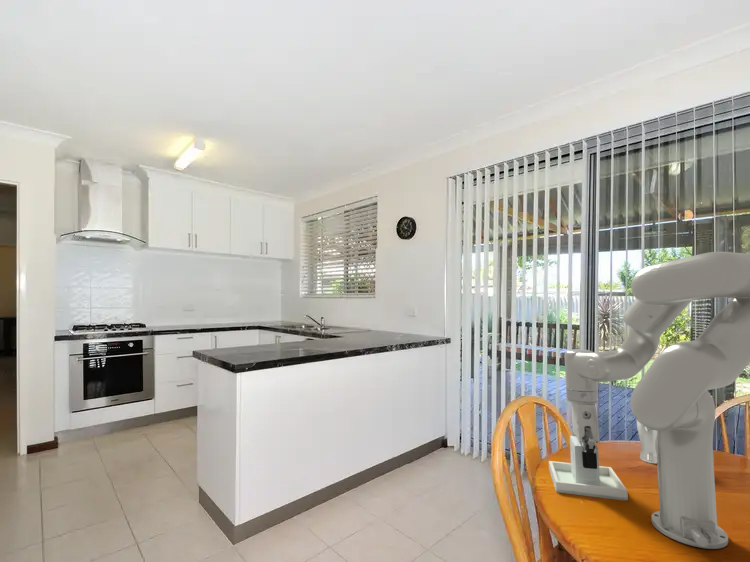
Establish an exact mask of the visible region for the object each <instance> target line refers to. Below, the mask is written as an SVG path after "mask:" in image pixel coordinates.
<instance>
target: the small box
mask: <svg viewBox="0 0 750 562" xmlns="http://www.w3.org/2000/svg"><path fill="white" fill-rule="evenodd" d="M586 444H588V443H585V446H586ZM594 444H595V448H596V455H597V469H590V468H584V467H583V460H582V451H583V446H582V442H580V441H579V440H578V439H577V437H576V436H575V435H569V448H570V463H571V473H572V475H573V478H574V480H575V483H580V484H589V485H598V486H600V477H599V466H600V459H599V447H598V445H597V443H596V442H595V441H594Z"/></svg>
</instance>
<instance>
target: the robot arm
mask: <svg viewBox="0 0 750 562" xmlns="http://www.w3.org/2000/svg"><path fill="white" fill-rule="evenodd" d="M630 285H631V286H630V288H631V292H632V295H633V297H635V300H634V301H633V302H632V303H631V304H630V306H628V308H627V309H626V311H625V312H624V313H623V317H622V321H623V322H624V323H625V325H626V326H627V328H629V329H630V330H629V334H628V335H627V337H626V339H624V341H623V342H622V343H621V345H620V346H619V347H618V348H617V349H616V350H605V351H604V350H603V351H592V350H589V349H581V348H580V349H579V348H578V349H576V348H575V349H567V350H565V352H564V372H565V389H566V401H567V402H569V403H570V405H571V407H570V408H571V423H572V424H571V425H572V432H573V433H574V436H576V437H577V439H578V440H579V441H580V442H582V446H583V451H582V460H583V467H584V468H590V469H597V455H596V448H595V444H599V443H600V441H601V440H600V439H601V438H600V430H599V420H598V414H597V407H596V405H597V404H599V394H598V383H608V382H614V381H620V380H621V381H622V380H628V379H631V378H633V377H635V376H636V375H638V374H639V373H640V372H641V371H642V370H643V369H644V368H645V367H646V366H647V364H648V363H649V362H650V361H651V360H652V359H653V357H654V356H655V354H656V353H657V350H658V347H659V343H660V338H661V336H662V335H663V334H664V332H665V331H666V330H668V328H669V327H670V325H671V324H672V323H673V322H674V321H675V320H676V319H677V317H679V315H680V314H681V313H683V311H684V310H685V309H686V308H687V306H689V304H690V303H691V302H693V301H697V300H705V299H716V298H730V300H729V302H728V303H727V304H726V305H725V306H724V307H723V308H722V309H721V310H720V311H718V312H717V314H716V315H715V316H714V317H713V318H712V319H711V321H710V322H709V324H708V325H707V326H706V328H705V329H704V330H703V332H702V333H701V334H700V335H699V336H698V337H697V338H695V339H694V340H691V341H690V340H689V341H681V342H677V343H674V344H672V345H669V346H668V347H666V348H665V349H664V350H662V351H661V352H660V353H659V354H658V355H657V356H656V357H655V359H654V360H653V362H652V363H651V364H650V366H649V368H648V369H647V370H646V371H645V372H644V375H643V376H642V377H641V378H640V380H639V382H638V383H637V384H636V386H635V387H634V389H633V391H632V393H631V395H630V400H629V402H630V403H629V404H630V410H631V413H632V415H633V417H634V418H635V419H636V422H637V421H638V422H639V423H641V424H642V425H643V426H645V427H647V428H649V429H652V430H656V431H657V437H656V447H657V464H656V466H657V468H656V469H657V483H658V484H657V487H658V503H659V506H658V507H659V510H656V511H655V512H653V513H652V514H651V517H650V518H651V524H652V525H653V526H654V528H655V529H656V530H657V531H659V533H661V534H663V535H664V536H666V537H668V538H670V539H673V540H675V541H677V542H679V543H682V544H684V545H687V546H691V547H697V548H700V549H706V550H708V549H709V550H711V549H712V550H718V549H722V548H725V547H726V546H727V547H728V544H729V536H728V534H727V532H726V531H725V530H724V529H723V528H722V527H720V526H719V525H718V520H717V518H718V516H717V514H718V513H717V501H716V499H717V498H716V486H715V483H716V482H715V468H714V467H715V466H714V465H715V464H714V448H713V447H714V443H713V442H714V439H713V438H714V427H715V420H716V405H715V399H714V398H713V396H712V395H711V393H710V392H709V390H717V389H721V388H726V387H728V386H729V385H732V384H733V383H734V382H735V381H736V380H737V379H738V378H739V376H740V375H741V374H742V373H743V372H744V371H745V369H746V368H747V366H749V365H750V253H748V252H747V253H746V252H745V253H744V252H733V251H732V252H731V251H712V252H705V253H698V254H695V255H690V256H686V257H683V258H677V259H673V260H668V261H663V262H658V263H654V264H650V265H647V266H645V267H643V268H641V269H640V270H638V271H637V272H636V273H635V275H634V276H633V278H632V280H631V284H630ZM594 442H595V444H594ZM585 443H588V444H586V446H585Z"/></svg>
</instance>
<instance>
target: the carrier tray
mask: <svg viewBox="0 0 750 562" xmlns="http://www.w3.org/2000/svg"><path fill="white" fill-rule="evenodd" d="M548 471H549V473H550V476H551V480H552V484H553V486H554V490H555V492H556V493H560V494H561V493H562V494H570V495H578V496H585V497H594V498H601V499H611V500H617V501H618V500H619V501H627V502H628V501H629V498H628V497H629V496H628V488H627V487H626V486H625V485H624V484H623V482H622V480H621V479H620V477H619V476H618V475H617V474H616V471H614V470H613V468H612V466H601V465H599V477H600V486H598V485H589V484H580V483H575V480H574V478H573V475H572V473H571V462H563V461H554V460H548Z"/></svg>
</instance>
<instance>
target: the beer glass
mask: <svg viewBox="0 0 750 562" xmlns="http://www.w3.org/2000/svg"><path fill="white" fill-rule="evenodd" d="M636 427H637V428H636V429H637V433H638V437H639V442H640V452H639V453H640V455H639V459H640V460H641V461H643V462H646V463H649V464H652V465H653V464H654V465H657V447H656V437H657V431H656V430H652V429H649V428H647V427H645V426H643V425H642V424H641V423H639V422H638V421H637V420H636Z"/></svg>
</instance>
